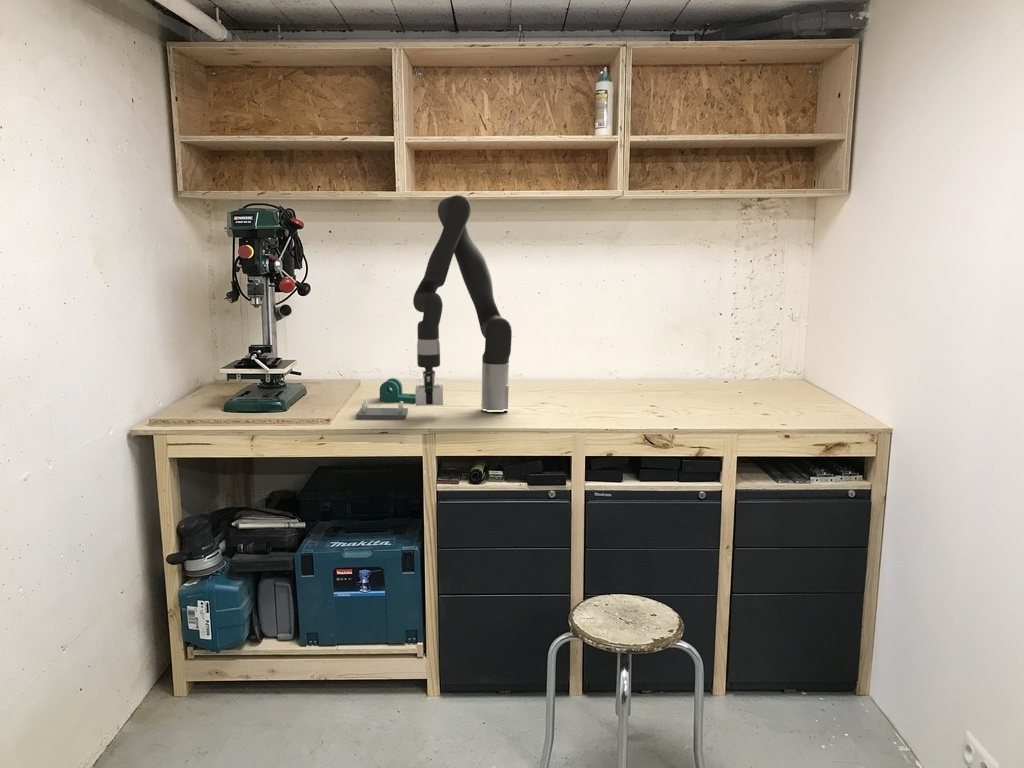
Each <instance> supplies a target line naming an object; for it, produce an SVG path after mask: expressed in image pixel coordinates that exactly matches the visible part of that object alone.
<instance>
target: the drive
mask: <svg viewBox="0 0 1024 768" xmlns="http://www.w3.org/2000/svg"><path fill="white" fill-rule="evenodd" d="M414 389H415V391H414V392H415V393H414V394H416V404H415V406H416V407H417V406H418V407H421V406H422V407H423V406H426V407H427V406H429V407H430V406H444V385H443V384H434V386H433V404H426V393H425V386H424V384H423V385H422V384H421V385H419V384H418V385H415V388H414ZM427 389H431V387H430V386H427Z"/></svg>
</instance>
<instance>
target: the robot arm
mask: <svg viewBox="0 0 1024 768" xmlns="http://www.w3.org/2000/svg"><path fill="white" fill-rule="evenodd" d="M471 213H472V205H471V202H470V201H469V199H468V198H467V197H465V196H463V195H461V194H460V195H459V194H456V195H455V194H454V195H452V196H448V197H445V198H443V199H442V200H441V201H440V202H439V203H438V206H437V215H438V219H439V221H440V223H441V225H442V227H443V228H442V231H441V234H440V236H439V239H438V241H437V243H436V244H435V246H434V248H433V250H432V252H431V254H430V257H429V259H428V262H427V265H426V269H425V271H424V276H423V278H422V279H421V281H420V283H419V285H418V286H417V288H416V289H415V292H414V295H413V301H412V303H413V308H414V309H415V310H416V311H417V312H419V313H423V316H422V320H421V321H419V322H418V323H417V342H416V351H417V353H416V357H417V358H416V360H417V362H416V363H417V367H418V368H421V369H422V368H424V369H425V370H423V371H422V378H423V385H424V386H425V393H426V404H433V386H434V385H435V382H436V380H435V379H436V370H434V368H438V367H440V366H441V345H440V344H441V343H440V323H441V319H442V318H441V317H442V313H443V300H442V297H441V296H440V294H439V293H437V290H438V289H439V288H441V287H442V286H444V285H445V282H446V280H447V276H448V273H449V269H450V266H451V262H452V259H453V256H454V257H455V259H456V262H457V265H458V268H459V271H460V274H461V277H462V280H463V282H464V285H465V287H466V290H467V292H468V294H469V297H470V299H471V301H472V303H473V305H474V309H475V313H476V316H477V319H478V320H477V321H478V324H479V328H480V333H481V334H482V336H483V337H484V339H485V341H484V352H483V354H482V356H481V358H482V359H481V360H482V361H481V362H482V364H481V365H482V367H481V407H482V409H486V410H503V409H508V410H509V392H510V391H509V390H510V389H509V387H510V386H509V368H510V367H509V363H510V356H511V353H512V338H513V337H512V336H513V335H512V334H513V333H512V326H511V323H510V322H509V321H508V320H507V319H506V318H504V317H503V316H502V315H501V313H500V311H499V309H498V306H497V304H496V302H495V298H494V290H493V289H494V288H493V280H492V276H491V272H490V269H489V267H488V264H487V261H486V259H485V257H484V255H483V253H482V252H481V250H480V248H479V247H478V246H477V245H476V243H475V242H474V240H473V239H472V237H471V235H470V233H469V230H468V227H467V223H468V221H469V219H470V217H471ZM427 386H430V387H431V389H427Z"/></svg>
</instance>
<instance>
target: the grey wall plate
mask: <svg viewBox="0 0 1024 768" xmlns="http://www.w3.org/2000/svg"><path fill="white" fill-rule="evenodd" d="M408 414H409V408H408V407H404V403H403V401H400V403H398V407H368V400H363V403H361V407H360V409H359V410H358V411H357V413H356V420H387V421H388V420H393V421H394V420H395V421H397V420H401V421H402V420H404V419H407V417H408ZM404 421H405V420H404Z"/></svg>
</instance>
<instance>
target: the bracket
mask: <svg viewBox="0 0 1024 768" xmlns="http://www.w3.org/2000/svg"><path fill="white" fill-rule="evenodd" d="M400 401H403V404H415V403H416V393H403V384H402V382H401V381H400V379H398V378H395V377H393V378H392V377H391V378H388V379H387V380H385V381H383V383H382V384H381V385H380V387H379V402H380V403H381V402H382V403H398V404H400Z"/></svg>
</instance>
